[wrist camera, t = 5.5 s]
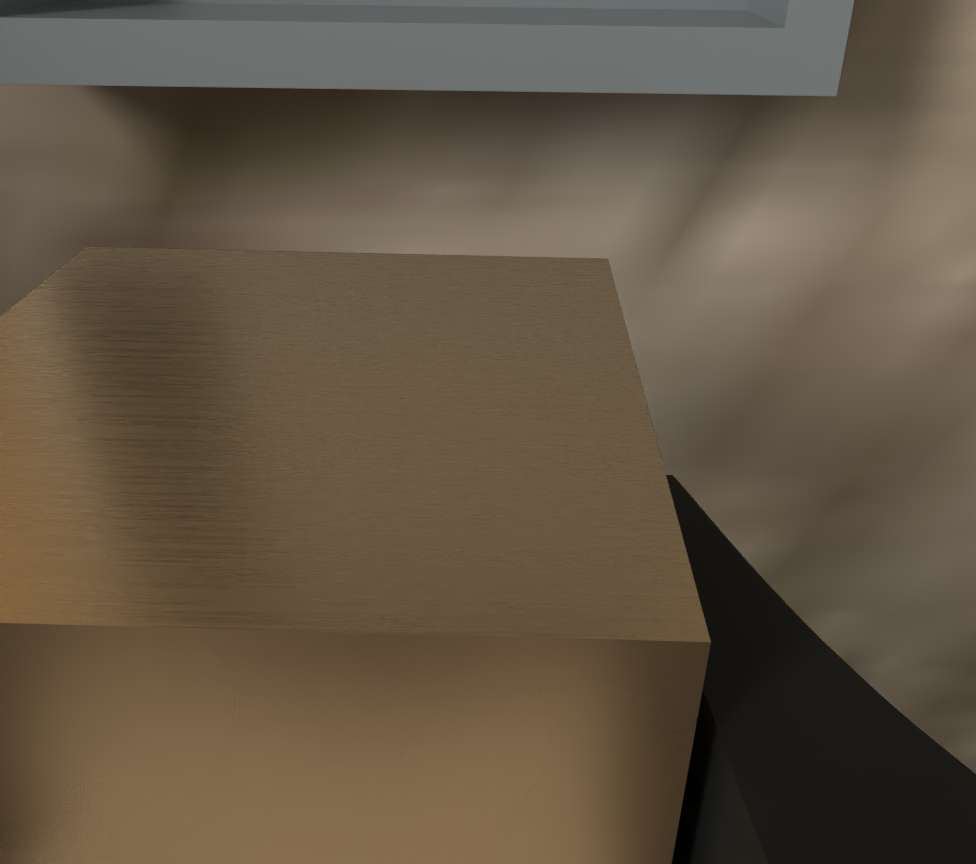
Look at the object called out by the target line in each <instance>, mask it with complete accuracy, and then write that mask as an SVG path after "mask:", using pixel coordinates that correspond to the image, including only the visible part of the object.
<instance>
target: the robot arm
mask: <svg viewBox="0 0 976 864" xmlns="http://www.w3.org/2000/svg"><path fill="white" fill-rule="evenodd" d="M666 477H667V481H668V484H669V488H670V492H671V496H672V499H673V503H674V507H675V510H676V514H677V518H678V522H679V525H680V529H681V533H682V537H683V540H684V544H685V548H686V551H687V555H688V559H689V563H690V566H691V570H692V574H693V577H694V581H695V585H696V589H697V592H698V596H699V600H700V603H701V607H702V611H703V615H704V618H705V622H706V626H707V629H708V633H709V637H710V641H711V645H710V650H709V656H708V661H707V667H706V673H705V678H704V684H703V690H702V695H701V701H700V706H699V712H698V718H697V723H696V729H695V735H694V740H693V746H692V751H691V757H690V763H689V768H688V774H687V780H686V785H685V791H684V796H683V802H682V808H681V813H680V819H679V825H678V830H677V836H676V841H675V847H674V853H673V858H672V864H976V774H975V773H974V772H972V771H971V770H970V769H969V768H967V767H966V766H965V765H964V764H962V763H961V762H960V761H959V760H958V759H956V758H955V757H954V756H953V755H951V754H950V753H949V752H948V751H946V750H945V749H944V748H943V747H941V746H940V745H939V744H938V743H936V742H935V741H934V740H933V739H932V738H930V737H929V736H928V735H927V734H925V733H924V732H923V731H922V730H920V729H919V728H918V727H917V726H916V725H914V724H913V723H912V722H911V721H910V720H909V719H907V718H906V717H905V716H904V715H903V714H902V713H901V712H899V711H898V710H897V709H896V708H895V707H894V706H892V705H891V704H890V703H889V702H888V701H887V700H886V699H884V698H883V697H882V696H881V695H880V694H879V693H878V692H877V691H876V690H875V689H873V688H872V687H871V686H870V685H869V684H868V683H867V682H866V681H865V680H864V679H863V678H862V677H861V676H860V675H859V674H857V673H856V672H855V671H854V670H853V669H852V668H851V667H850V666H849V665H848V664H847V663H846V662H845V661H844V660H842V659H841V658H840V657H839V656H838V655H837V654H836V653H835V652H834V651H833V650H832V649H831V648H830V647H829V646H827V645H826V644H825V643H824V642H823V641H822V640H821V639H820V638H819V637H818V636H817V635H816V634H815V633H814V632H813V631H812V630H811V629H810V628H809V627H808V626H807V625H806V624H805V623H804V622H803V621H802V619H801V618H800V617H799V616H798V615H797V614H796V613H795V612H794V611H793V610H792V609H791V608H790V607H789V606H788V605H787V604H786V603H785V602H784V600H783V599H782V598H781V597H780V596H779V595H778V594H777V593H776V592H775V591H774V590H773V589H772V588H771V587H770V586H769V585H768V584H767V582H766V581H765V580H764V579H763V578H762V577H761V576H760V575H759V574H758V573H757V572H756V570H755V569H754V568H753V567H752V566H751V565H750V564H749V563H748V562H747V560H746V559H745V558H744V557H743V556H742V555H741V554H740V552H739V551H738V550H737V549H736V548H735V547H734V546H733V544H732V543H731V542H730V541H729V540H728V539H727V538H726V536H725V535H724V534H723V533H722V532H721V531H720V529H719V528H718V527H717V526H716V525H715V524H714V522H713V521H712V520H711V519H710V518H709V517H708V515H707V514H706V513H705V512H704V511H703V509H702V508H701V507H700V506H699V505H698V504H697V502H696V501H695V500H694V499H693V498H692V497H691V495H690V494H689V493H688V492H687V491H686V490H685V489H684V487H683V486H682V485H681V484H680V483H679V482H678V481H677V480H676V478H675V477H674V476H673V475H666Z"/></svg>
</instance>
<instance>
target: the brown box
mask: <svg viewBox="0 0 976 864" xmlns="http://www.w3.org/2000/svg"><path fill="white" fill-rule="evenodd" d="M710 645H711V641H710V637H709V633H708V629H707V626H706V622H705V618H704V615H703V611H702V607H701V603H700V600H699V596H698V592H697V589H696V585H695V581H694V577H693V574H692V570H691V566H690V563H689V559H688V555H687V551H686V548H685V544H684V540H683V537H682V533H681V529H680V525H679V522H678V518H677V514H676V510H675V507H674V503H673V499H672V496H671V492H670V488H669V484H668V481H667V477H666V473H665V470H664V466H663V462H662V458H661V455H660V451H659V447H658V444H657V440H656V436H655V432H654V429H653V425H652V421H651V418H650V414H649V410H648V406H647V403H646V399H645V395H644V392H643V388H642V384H641V380H640V377H639V373H638V369H637V365H636V362H635V358H634V354H633V351H632V347H631V343H630V339H629V336H628V332H627V328H626V325H625V321H624V317H623V313H622V310H621V306H620V302H619V299H618V295H617V291H616V287H615V284H614V280H613V276H612V273H611V269H610V265H609V261H608V259H600V258H555V257H511V256H467V255H423V254H378V253H334V252H290V251H246V250H201V249H157V248H113V247H85V248H84V249H83V250H81V251H80V252H79V253H78V254H77V255H75V256H74V257H73V258H72V259H70V260H69V261H68V262H67V263H65V264H64V265H63V266H62V267H61V268H59V269H58V270H57V271H56V272H54V273H53V274H52V275H51V276H50V277H48V278H47V279H46V280H45V281H43V282H42V283H41V284H40V285H38V286H37V287H36V288H35V289H34V290H32V291H31V292H30V293H29V294H27V295H26V296H25V297H24V298H22V299H21V300H20V301H19V302H18V303H16V304H15V305H14V306H13V307H11V308H10V309H9V310H8V311H7V312H5V313H4V314H3V315H2V316H0V864H672V858H673V853H674V847H675V841H676V836H677V830H678V825H679V819H680V813H681V808H682V802H683V796H684V791H685V785H686V780H687V774H688V768H689V763H690V757H691V751H692V746H693V740H694V735H695V729H696V723H697V718H698V712H699V706H700V701H701V695H702V690H703V684H704V678H705V673H706V667H707V661H708V656H709V650H710Z"/></svg>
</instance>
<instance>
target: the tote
mask: <svg viewBox="0 0 976 864" xmlns="http://www.w3.org/2000/svg"><path fill="white" fill-rule="evenodd" d="M853 5H854V0H0V84H29V85H98V86H167V87H236V88H306V89H375V90H444V91H513V92H582V93H651V94H720V95H789V96H837V91H838V86H839V81H840V75H841V70H842V65H843V59H844V54H845V48H846V43H847V38H848V32H849V27H850V21H851V16H852V11H853Z"/></svg>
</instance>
